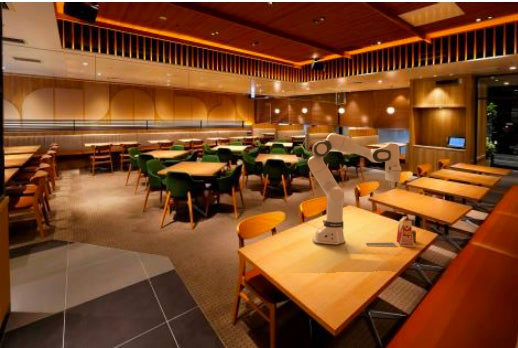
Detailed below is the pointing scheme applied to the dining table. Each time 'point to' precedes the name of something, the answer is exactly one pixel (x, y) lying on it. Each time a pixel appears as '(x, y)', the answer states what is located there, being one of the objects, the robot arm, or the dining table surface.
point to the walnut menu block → (414, 235)
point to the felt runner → (382, 244)
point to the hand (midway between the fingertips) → (391, 187)
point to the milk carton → (405, 233)
